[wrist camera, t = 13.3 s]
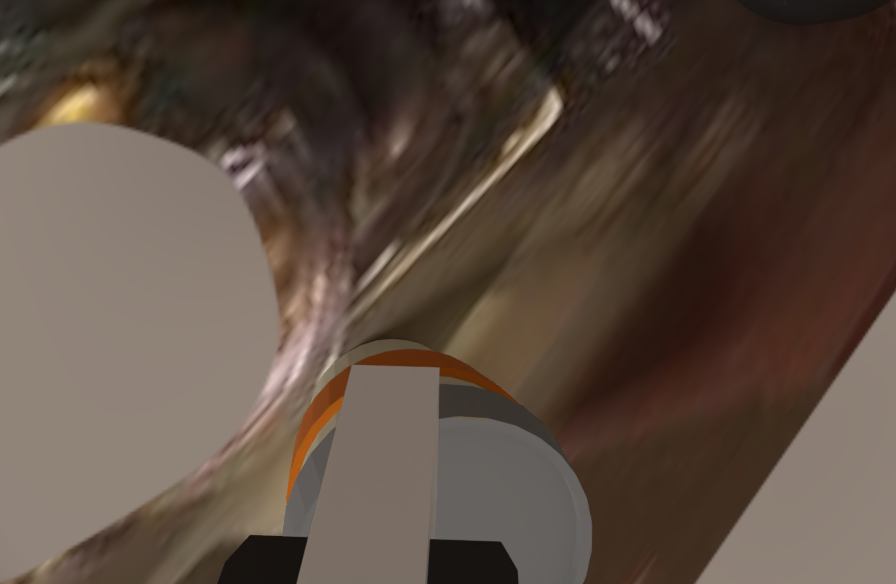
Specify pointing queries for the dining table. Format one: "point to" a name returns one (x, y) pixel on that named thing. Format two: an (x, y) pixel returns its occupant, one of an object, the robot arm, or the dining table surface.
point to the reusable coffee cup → (465, 466)
